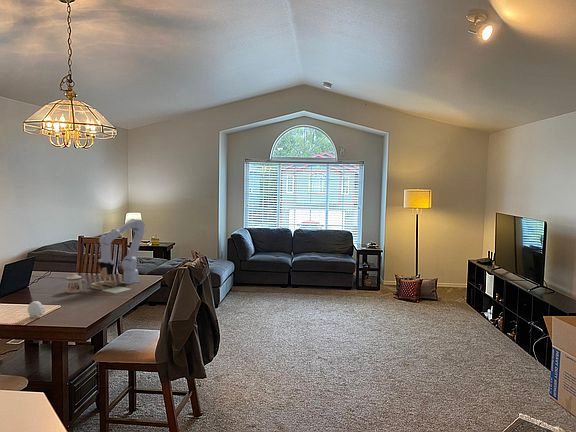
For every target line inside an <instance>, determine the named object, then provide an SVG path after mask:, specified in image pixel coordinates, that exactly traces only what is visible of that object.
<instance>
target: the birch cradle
mask: <svg viewBox="0 0 576 432" xmlns="http://www.w3.org/2000/svg"><path fill="white" fill-rule="evenodd" d="M117 285H118V283H117V282H115V281H111V280H110V281H109V280H102V281H101V280H100V281H97V282H93V283H89V289H94V290H99V291H102V290H104V286H108V287H112V288H114V287H118V286H117Z"/></svg>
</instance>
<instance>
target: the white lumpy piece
mask: <svg viewBox="0 0 576 432" xmlns="http://www.w3.org/2000/svg"><path fill="white" fill-rule="evenodd" d="M45 311H46V307H45V306H44V305H43V304H42V303H41V302H40V301H39V300H35V301H32V302H30V303H29V304H28V307H27V313H28V315H29V319H33V318H34V317H36V318H38V319H39V318H40V319H41V318H42V317H43V316H42V315H43V313H44V314H45Z"/></svg>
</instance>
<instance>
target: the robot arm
mask: <svg viewBox="0 0 576 432" xmlns="http://www.w3.org/2000/svg"><path fill="white" fill-rule="evenodd" d="M145 225H146V224H145V222H144V221H143V219H137V218H136V219H135V218H131V219H129V220H127V221H126V222H125V223H124V224H122V225H121V226H120V227H118V228H112V229H111V230H110V231H108V232H106V233H105V234H103V235H101V236H100V237H99V239H98V242H99V243H100V255H101V257H100V258H99V259H97V262H98V266H99V268H100V271H102V268H104V267H106V268H107V274H108V275H110V274H111V275H112V271H113V268H114V266H115V260H112V256H111V255H112V254H111V244H112V243H113V241H114V240H116V239H117V238H119V237H120V236H121V233H124V232H125V231H127V230H129V229H131V230H132V231H133V232H134V234H133V235H134V236H133V239H132V242H131V245H130V247H129V250H128V253H127V255H125V256H124V258H123V260H122V261H121V263H120V265H121V268H122V270H123V281H121V284H125V285H131V284H136V283H139V282H140V280H139V278H140V275H139V270H138V269H137V266H138V264H137V263H138V259H137V255H138V252H139V249H140V246H141V243H142V239H143V237H144V234H145Z"/></svg>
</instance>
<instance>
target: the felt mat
mask: <svg viewBox="0 0 576 432" xmlns="http://www.w3.org/2000/svg"><path fill="white" fill-rule="evenodd" d="M130 290H132V288H128V287H123V286H120V285H119V286H116V287H112V288H111V287H110V288H107V289H103V290H101V291H102V292H106V293H112V294H119V293H123V292H126V291H130Z"/></svg>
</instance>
